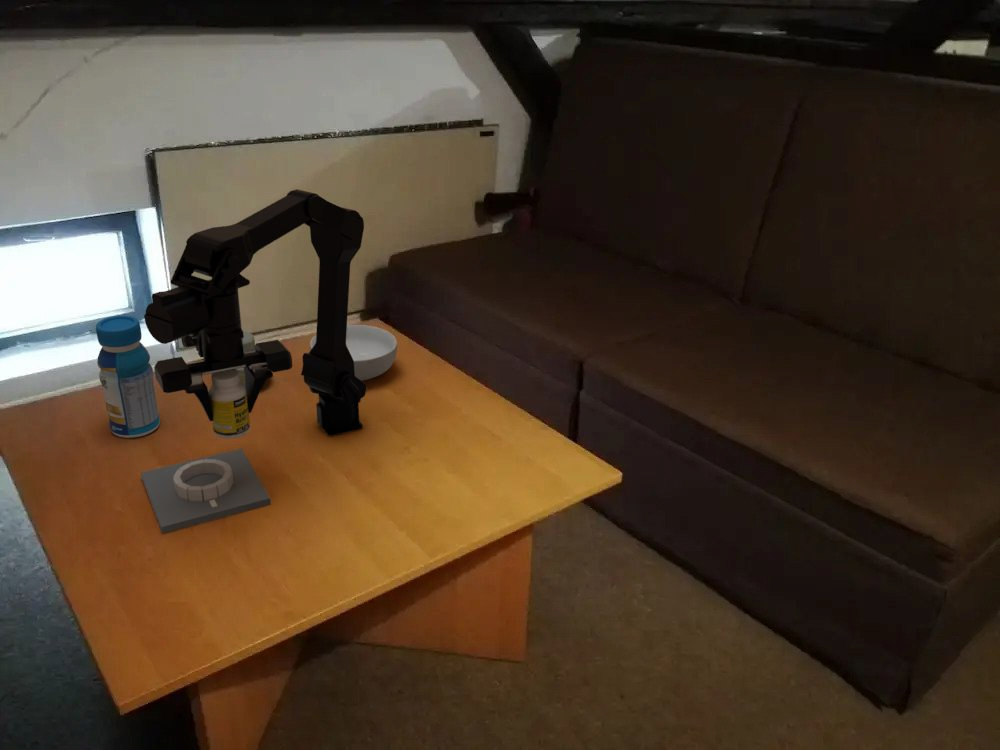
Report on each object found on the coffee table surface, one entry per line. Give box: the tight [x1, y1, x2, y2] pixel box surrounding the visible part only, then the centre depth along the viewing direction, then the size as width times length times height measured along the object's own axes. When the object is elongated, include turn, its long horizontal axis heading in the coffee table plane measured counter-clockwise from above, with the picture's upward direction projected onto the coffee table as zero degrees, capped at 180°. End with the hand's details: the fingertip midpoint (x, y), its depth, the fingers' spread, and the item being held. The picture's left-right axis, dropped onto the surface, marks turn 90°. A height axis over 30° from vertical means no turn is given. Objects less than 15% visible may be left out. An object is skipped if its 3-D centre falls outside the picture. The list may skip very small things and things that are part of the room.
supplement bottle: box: [208, 369, 251, 440], centre depth 131 cm, size 5×5×10 cm
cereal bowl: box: [309, 324, 398, 382], centre depth 172 cm, size 17×17×7 cm
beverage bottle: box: [95, 315, 161, 439], centre depth 148 cm, size 8×8×20 cm
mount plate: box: [140, 448, 272, 535], centre depth 135 cm, size 16×16×3 cm
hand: (229, 415), depth 132 cm, fingers closed on supplement bottle, 5 cm apart
